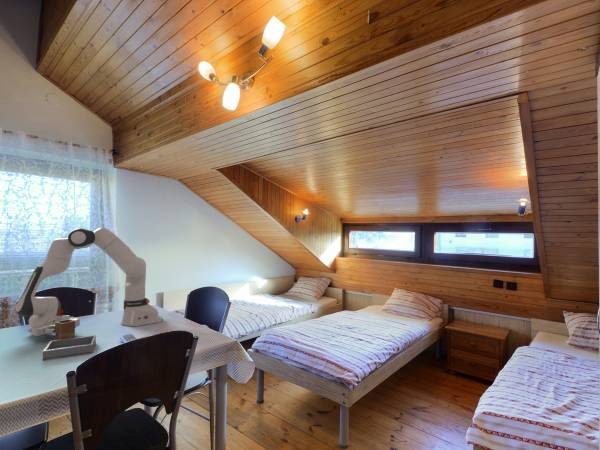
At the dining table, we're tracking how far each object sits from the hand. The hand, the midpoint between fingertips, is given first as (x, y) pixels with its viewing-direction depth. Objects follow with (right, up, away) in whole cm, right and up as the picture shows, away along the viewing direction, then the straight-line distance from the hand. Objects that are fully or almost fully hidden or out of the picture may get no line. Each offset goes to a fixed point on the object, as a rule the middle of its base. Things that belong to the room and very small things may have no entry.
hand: (64, 329), depth 161 cm
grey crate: (+13, -6, -13) cm, 20 cm away
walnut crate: (+1, -6, -1) cm, 6 cm away
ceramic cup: (-30, -6, +29) cm, 43 cm away
